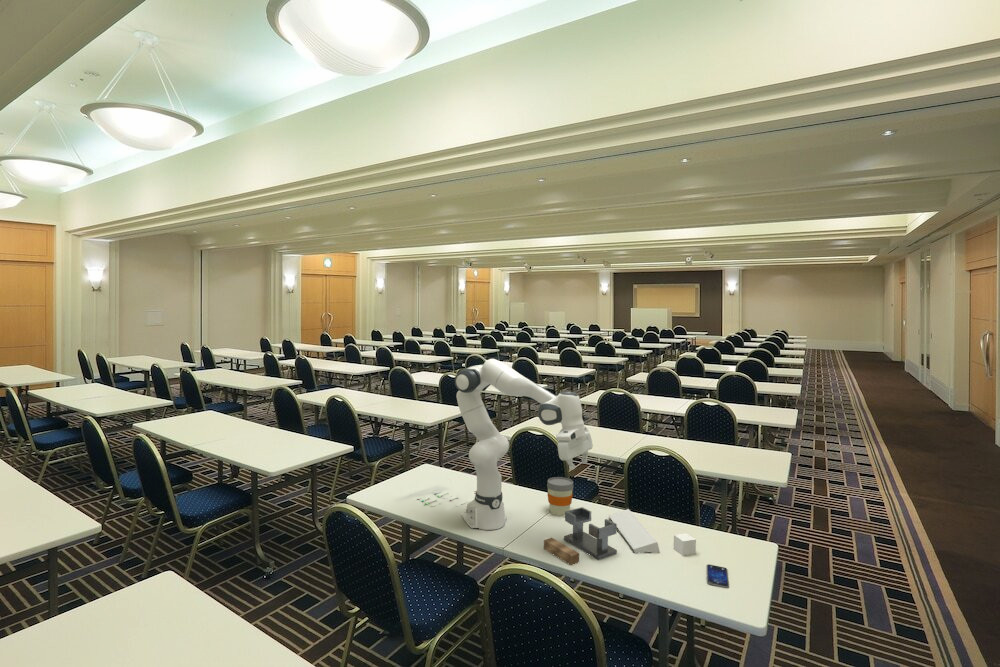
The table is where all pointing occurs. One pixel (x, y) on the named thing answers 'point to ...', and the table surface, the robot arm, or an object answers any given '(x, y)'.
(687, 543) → the white cube
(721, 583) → the smartphone
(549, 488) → the reusable coffee cup
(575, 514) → the bracket stand
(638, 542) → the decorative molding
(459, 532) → the table surface
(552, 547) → the rail
